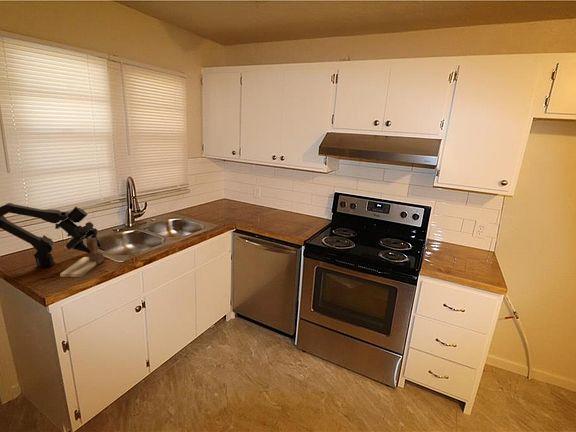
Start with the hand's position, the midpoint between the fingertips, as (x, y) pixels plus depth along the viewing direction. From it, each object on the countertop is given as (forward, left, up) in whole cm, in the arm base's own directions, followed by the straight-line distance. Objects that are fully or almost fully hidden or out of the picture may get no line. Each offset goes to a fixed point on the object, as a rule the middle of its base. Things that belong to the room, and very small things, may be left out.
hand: (95, 249), depth 167 cm
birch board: (-4, -6, -8) cm, 11 cm away
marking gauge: (-1, 0, -8) cm, 8 cm away
